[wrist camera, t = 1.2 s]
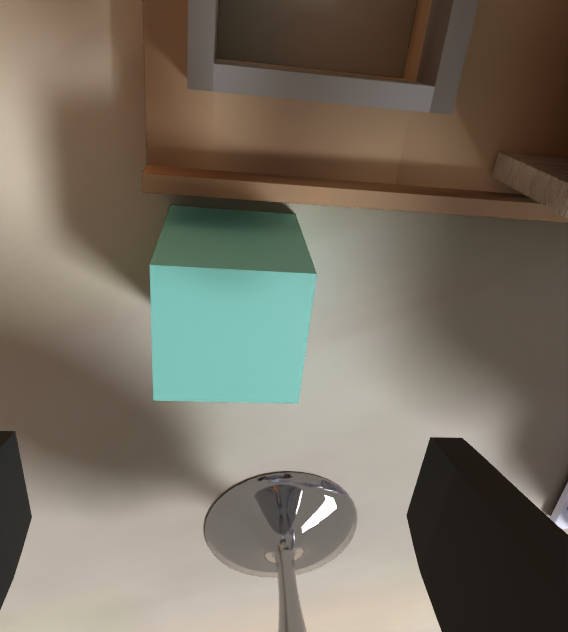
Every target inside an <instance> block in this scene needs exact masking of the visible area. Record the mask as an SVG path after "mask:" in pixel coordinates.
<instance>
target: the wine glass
mask: <svg viewBox="0 0 568 632" xmlns="http://www.w3.org/2000/svg"><path fill="white" fill-rule="evenodd" d="M356 525H357V512H356V508H355V506H354V503H353V501H352V500H351V498H350V497H349V495H348V494H347V493H346V492H345V491H344V490H343V489H342V488H340V487H339V486H338V485H336V484H334V483H333V482H331V481H329V480H327V479H324V478H322V477H319V476H316V475H311V474H306V473H297V472H280V473H272V474H266V475H261V476H258V477H255V478H252V479H249V480H246V481H244V482H242V483H240V484H238V485H236V486H234V487H233V488H231V489H230V490H228V491H227V492H225V493H224V494H223V495H222V496H221V497H220V498H219V499H218V500H217V501H216V502H215V504H214V505H213V506H212V508H211V509H210V511H209V513H208V515H207V518H206V522H205V527H204V530H205V538H206V541H207V544H208V547H209V548H210V550H211V551H212V553H213V554H214V555H215V556H216V557H217V558H218V559H219V560H220V561H221V562H222V563H224V564H225V565H227V566H228V567H230V568H232V569H234V570H236V571H238V572H241V573H245V574H248V575H253V576H259V577H273V578H275V577H278V589H279V625H278V632H307V630H306V627H305V623H304V618H303V614H302V610H301V606H300V601H299V595H298V590H297V583H296V575H299V574H302V573H306V572H309V571H312V570H314V569H316V568H319V567H321V566H323V565H325V564H326V563H328V562H330V561H331V560H333V559H334V558H335V557H337V556H338V555H339V554H340V553H341V552H342V551H343V550H344V549H345V548H346V547H347V546H348V544H349V542H350V541H351V539H352V538H353V535H354V533H355V530H356Z"/></svg>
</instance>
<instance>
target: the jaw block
mask: <svg viewBox="0 0 568 632" xmlns="http://www.w3.org/2000/svg"><path fill="white" fill-rule="evenodd" d="M316 275H317V274H316V271H315V268H314V265H313V262H312V259H311V257H310V254H309V251H308V248H307V245H306V243H305V240H304V237H303V234H302V231H301V228H300V226H299V223H298V220H297V217H296V214H288V213H273V212H259V211H244V210H229V209H215V208H200V207H186V206H171V205H170V208H169V210H168V213H167V216H166V219H165V222H164V225H163V228H162V231H161V233H160V236H159V239H158V242H157V245H156V248H155V251H154V254H153V257H152V259H151V262H150V298H151V334H152V370H153V400H156V401H202V402H249V403H296V404H298V403H299V396H300V389H301V382H302V375H303V368H304V361H305V353H306V346H307V339H308V332H309V325H310V318H311V311H312V303H313V296H314V289H315V282H316Z"/></svg>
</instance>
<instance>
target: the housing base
mask: <svg viewBox="0 0 568 632" xmlns="http://www.w3.org/2000/svg"><path fill="white" fill-rule="evenodd" d="M217 30H218V0H143V36H144V72H145V109H146V145H147V166H146V167H145V169H144V171H143V172H142V192H144V193H158V194H172V195H186V196H200V197H214V198H228V199H242V200H256V201H270V202H284V203H298V204H312V205H326V206H340V207H354V208H368V209H382V210H396V211H410V212H424V213H438V214H452V215H466V216H480V217H494V218H508V219H522V220H536V221H550V222H564V223H568V219H567V218H566V217H564V216H562V215H560V214H558V213H557V212H555V211H553V210H551V209H549V208H548V207H546V206H544V205H542V204H540V203H539V202H537V201H535V200H533V199H531V198H530V197H528V196H526V195H524V194H522V193H521V192H519V191H517V190H515V189H513V188H512V187H510V186H508V185H506V184H504V183H503V182H501V181H499V180H497V179H495V178H494V177H492V173H493V170H494V166H495V163H496V160H497V156H498V153H499V152H503V153H514V154H526V155H537V156H548V157H559V158H568V0H418V2H417V7H416V12H415V18H414V23H413V28H412V33H411V39H410V44H409V49H408V55H407V60H406V65H405V70H404V76H403V78H398V77H388V76H379V75H369V74H360V73H350V72H341V71H331V70H322V69H312V68H302V67H293V66H283V65H274V64H264V63H255V62H245V61H236V60H226V59H217Z"/></svg>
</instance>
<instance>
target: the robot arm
mask: <svg viewBox="0 0 568 632" xmlns="http://www.w3.org/2000/svg"><path fill="white" fill-rule="evenodd" d="M31 518H32V516H31V510H30V505H29V500H28V495H27V490H26V485H25V479H24V474H23V469H22V464H21V459H20V453H19V448H18V443H17V438H16V433H15V431H0V609H1V607H2V604H3V602H4V600H5V597H6V595H7V593H8V590H9V588H10V585H11V583H12V581H13V578H14V575H15V572H16V569H17V565H18V562H19V559H20V556H21V553H22V549H23V546H24V542H25V539H26V535H27V532H28V528H29V525H30V521H31ZM407 519H408V524H409V528H410V533H411V537H412V541H413V546H414V550H415V554H416V558H417V562H418V566H419V569H420V573H421V575H422V578H423V581H424V584H425V587H426V590H427V592H428V595H429V598H430V601H431V603H432V606H433V609H434V612H435V614H436V617H437V620H438V623H439V625H440V628H441V631H442V632H568V534H566V533H565V532H564V531H563V530H562V529H568V483H567V485H566V487H565V489H564V491H563V493H562V495H561V497H560V499H559V501H558V503H557V505H556V507H555V509H554V511H553V513H552V515H551V518H549V517H547V516H546V515H545V514H544V513H543V512H542V511H541V510H540V509H539V508H538V507H536V506H535V505H534V504H533V503H532V502H531V501H530V500H529V499H528V498H527V497H526V496H525V495H523V494H522V493H521V492H520V491H519V490H518V489H517V488H516V487H515V486H514V485H513V484H512V483H511V482H510V481H508V480H507V479H506V478H505V477H504V476H503V475H502V474H501V473H500V472H499V471H498V470H497V469H496V468H495V467H494V466H492V465H491V464H490V463H489V462H488V461H487V460H486V459H485V458H484V457H483V456H482V455H481V454H480V453H478V452H477V451H476V450H475V449H474V448H473V447H472V446H471V445H470V444H468V443H467V442H466V441H465V440H464V439H463V438H432V437H430V440H429V443H428V447H427V450H426V453H425V457H424V460H423V463H422V466H421V470H420V473H419V476H418V479H417V483H416V486H415V489H414V493H413V496H412V499H411V502H410V506H409V509H408V512H407Z"/></svg>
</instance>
